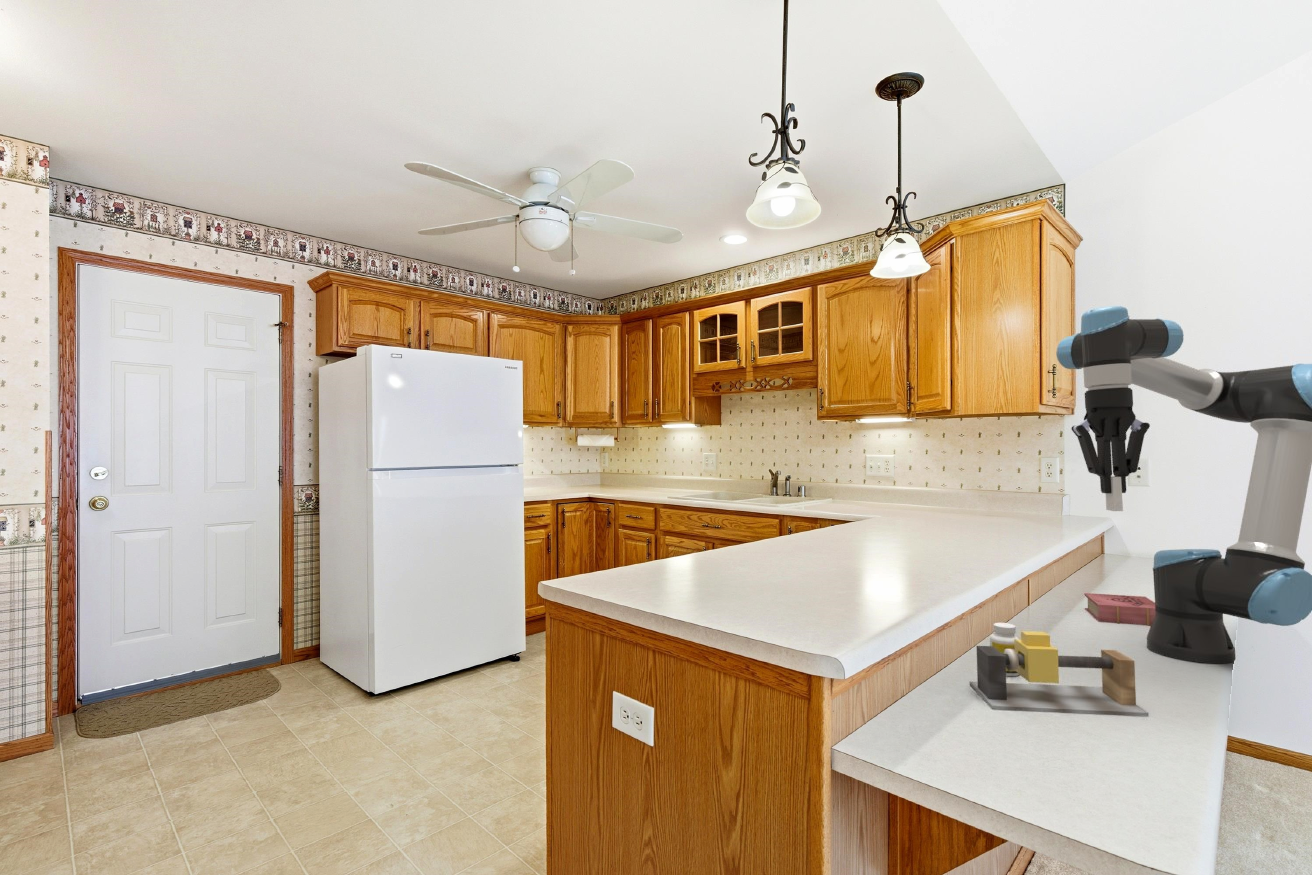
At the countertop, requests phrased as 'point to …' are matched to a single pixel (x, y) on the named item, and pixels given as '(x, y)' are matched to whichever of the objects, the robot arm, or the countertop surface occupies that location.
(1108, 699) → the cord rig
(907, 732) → the countertop surface
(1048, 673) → the sleeve
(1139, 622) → the book
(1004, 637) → the supplement bottle
